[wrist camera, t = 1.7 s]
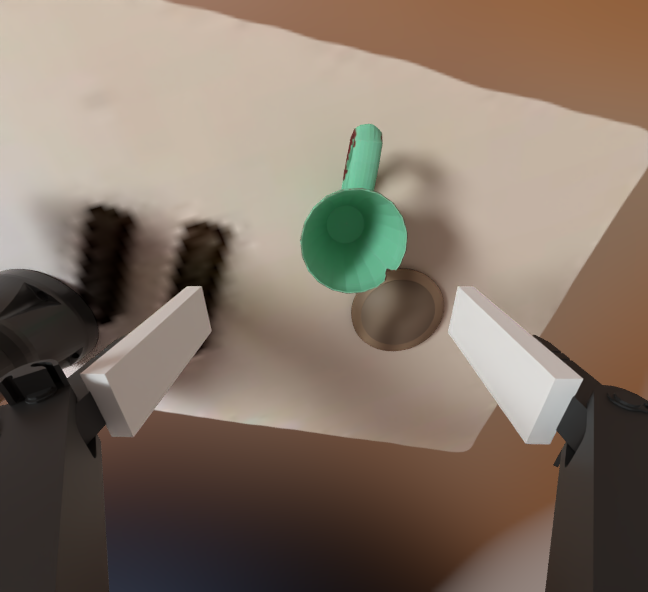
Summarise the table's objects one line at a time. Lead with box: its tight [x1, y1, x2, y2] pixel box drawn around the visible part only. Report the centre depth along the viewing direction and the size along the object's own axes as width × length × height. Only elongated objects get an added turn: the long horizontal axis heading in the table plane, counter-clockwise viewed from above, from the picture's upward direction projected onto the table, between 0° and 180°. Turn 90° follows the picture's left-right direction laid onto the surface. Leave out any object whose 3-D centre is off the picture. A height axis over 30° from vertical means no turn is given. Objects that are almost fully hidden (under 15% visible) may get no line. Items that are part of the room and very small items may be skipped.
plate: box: [351, 269, 444, 351], centre depth 39 cm, size 13×13×1 cm
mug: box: [300, 124, 407, 293], centre depth 28 cm, size 15×10×10 cm
